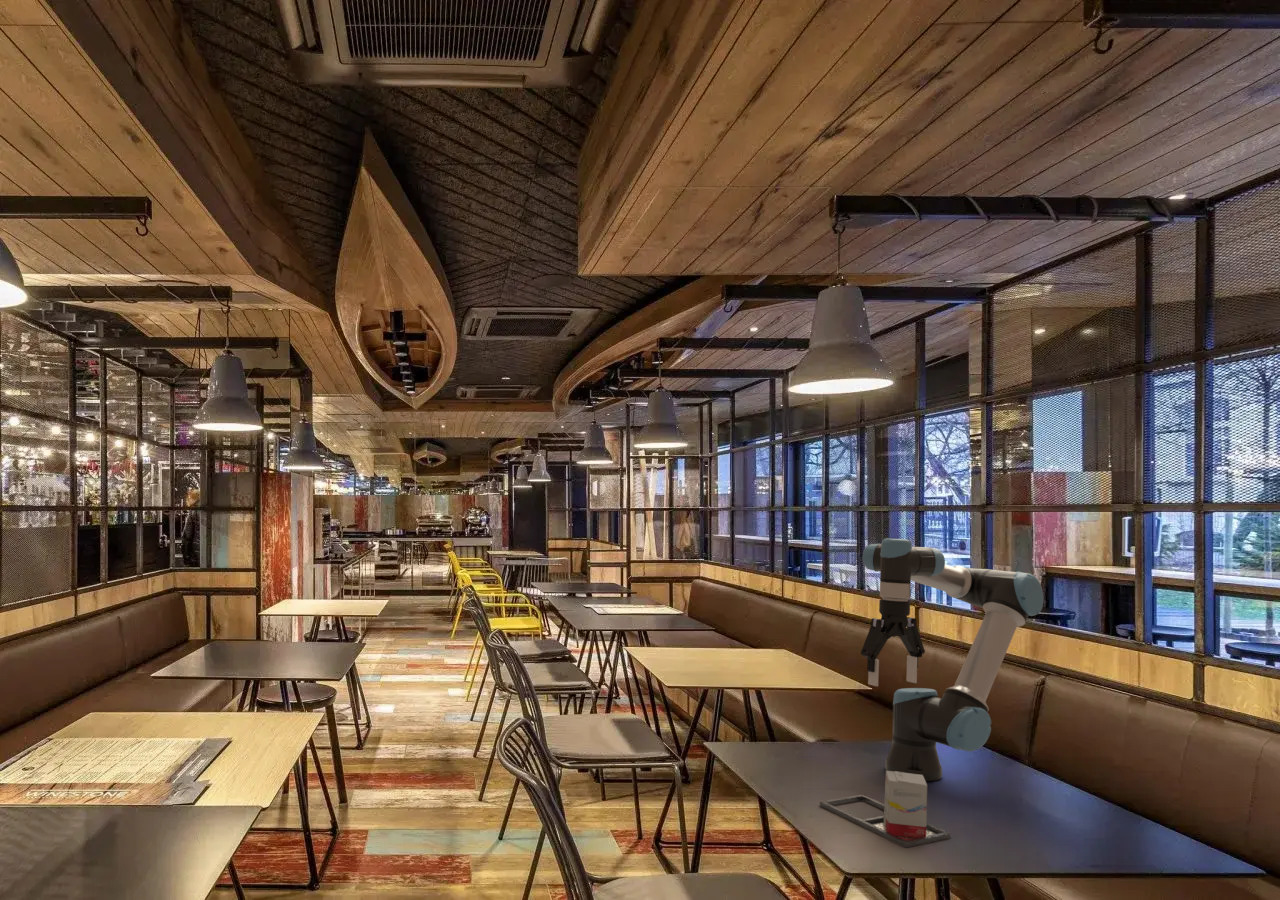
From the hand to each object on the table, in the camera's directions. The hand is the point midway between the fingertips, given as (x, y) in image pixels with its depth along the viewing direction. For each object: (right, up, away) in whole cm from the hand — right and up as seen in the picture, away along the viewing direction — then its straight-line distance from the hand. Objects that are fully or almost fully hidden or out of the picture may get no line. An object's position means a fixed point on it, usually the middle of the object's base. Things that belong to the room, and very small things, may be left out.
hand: (892, 683), depth 208 cm
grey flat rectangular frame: (-8, -27, -17) cm, 33 cm away
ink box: (-4, -27, -23) cm, 35 cm away
